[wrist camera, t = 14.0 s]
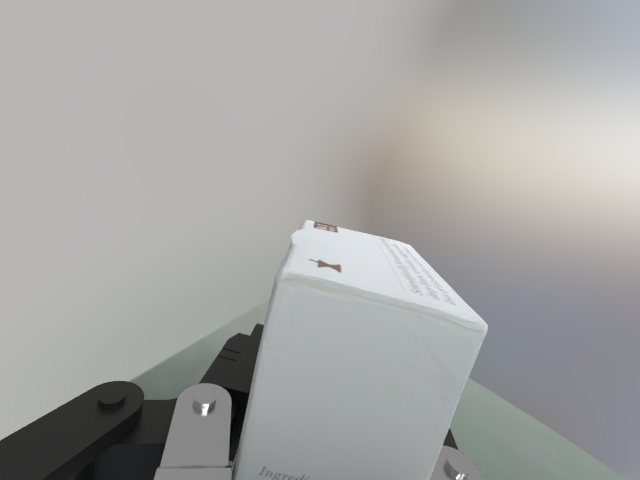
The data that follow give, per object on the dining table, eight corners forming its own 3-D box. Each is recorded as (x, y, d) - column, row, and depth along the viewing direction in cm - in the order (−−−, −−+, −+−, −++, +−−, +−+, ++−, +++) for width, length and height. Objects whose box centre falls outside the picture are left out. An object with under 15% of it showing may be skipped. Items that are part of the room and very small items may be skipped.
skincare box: (339, 737, 9) (523, 333, 6) (170, 703, 8) (271, 270, 6) (335, 500, 15) (423, 244, 12) (236, 477, 14) (301, 212, 12)
